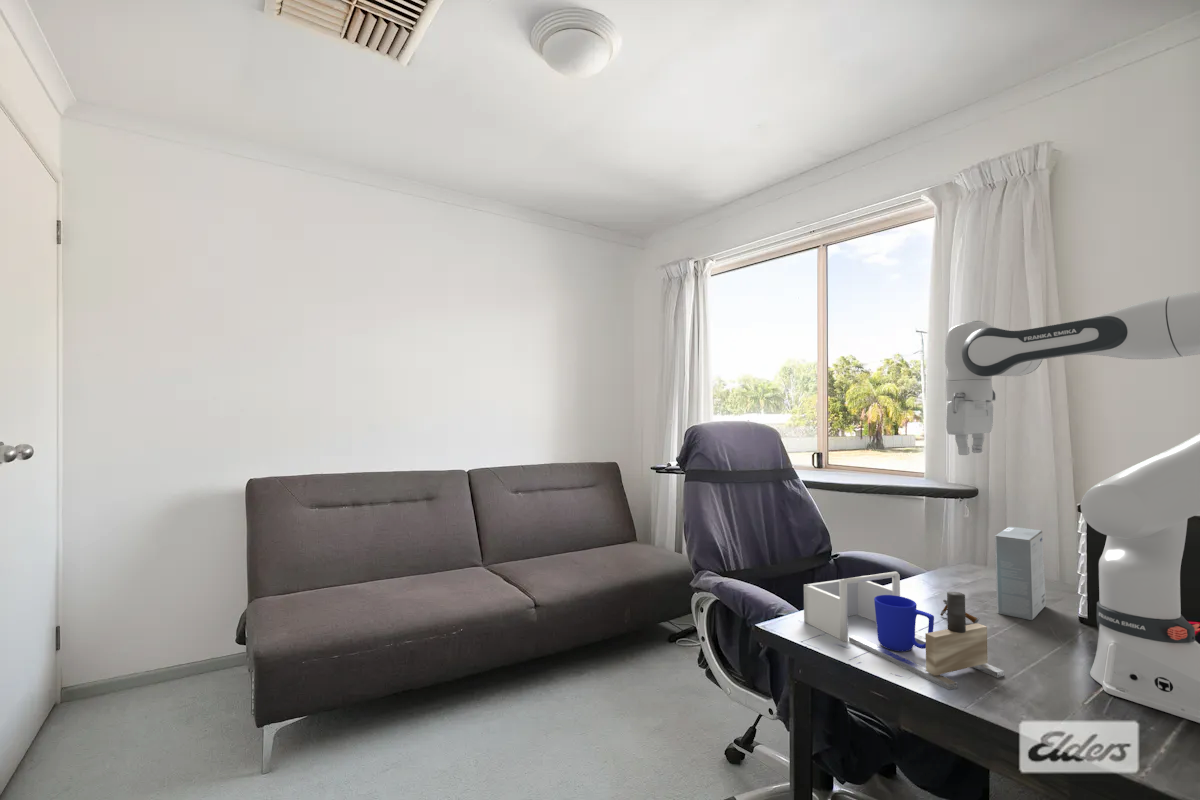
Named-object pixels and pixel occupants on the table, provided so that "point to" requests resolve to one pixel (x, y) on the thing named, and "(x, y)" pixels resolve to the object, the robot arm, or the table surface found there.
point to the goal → (844, 601)
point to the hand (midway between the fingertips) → (970, 454)
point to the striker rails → (917, 668)
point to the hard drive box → (1020, 572)
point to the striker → (956, 641)
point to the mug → (898, 622)
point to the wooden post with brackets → (965, 614)
